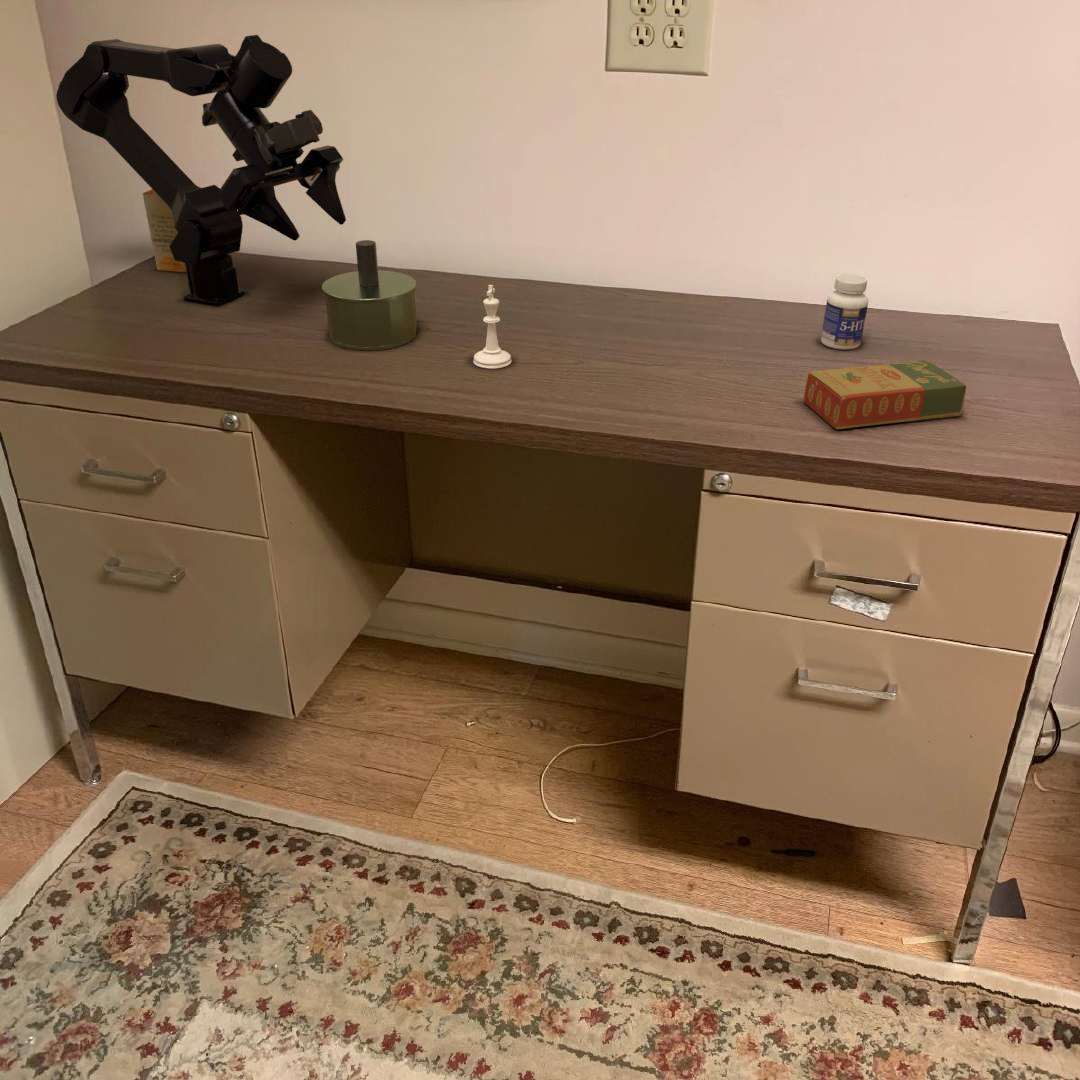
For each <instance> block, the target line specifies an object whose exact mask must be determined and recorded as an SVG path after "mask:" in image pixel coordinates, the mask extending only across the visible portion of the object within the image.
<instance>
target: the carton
mask: <svg viewBox="0 0 1080 1080" xmlns="http://www.w3.org/2000/svg"><path fill="white" fill-rule="evenodd" d="M803 392H804V394H803V400H802V401H803V403H805V404H806V405H807V406H808V407H809V408H810V409H811V410H813V411H814V413H816V414H817V415H818V416H820V417H821V418H822V419H823V420H824V421H825V422H827V423H828V424H829V425H830V426H831V427H832V428H834V429H835V430H843V429H851V428H858V427H869V426H877V425H886V424H896V423H904V422H905V423H907V422H918V421H929V420H937V419H938V420H939V419H949V418H950V419H951V418H958V417H960V416H961V415H962V413H963V409H964V405H965V398H966V393H967V384H966V383H965V382H963V381H961V380H960V379H958V378H956V377H955V376H953V375H951V374H950V373H948V372H947V371H945V370H943V369H942V368H940V367H939V366H937V365H935V364H934V363H932V362H931V361H929V360H927V359H923V360H916V361H906V362H905V361H904V362H893V363H885V364H875V365H865V366H857V367H856V366H854V367H844V368H833V369H824V370H816V371H815V370H814V371H809V372H808V373H807V378H806V382H805V387H804V391H803Z"/></svg>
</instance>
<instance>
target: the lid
mask: <svg viewBox="0 0 1080 1080" xmlns="http://www.w3.org/2000/svg"><path fill="white" fill-rule="evenodd" d="M355 249H356V250H355V251H356V262H357V271H349V272H345V273H340V274H337V275H335V276H331V277H330V278H328V279H326V280H325V281H323V283H322V285H321V290H322V291H321V292H322V294H323V295H324V297H325V296H326V297H328V298H330V299H333V300H336V301H340V302H346V303H356V304H371V303H382V302H389V301H393V300H398V299H401V298H404V297H406V296H408V295H410V294H412V293H413V292H414V293H415V291H416V290H417V281H416V280H415V278H413V277H412V276H410V275H408V274H405V273H403V272H397V271H393V270H383V269H381V270H380V269H379V268H378V267H379V265H378V254H377V242H376V241H374V240H371V239H364V240H358V241H356V242H355Z"/></svg>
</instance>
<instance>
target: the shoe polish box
mask: <svg viewBox="0 0 1080 1080" xmlns="http://www.w3.org/2000/svg"><path fill="white" fill-rule="evenodd" d="M142 197H143V202H144V208H145V213H146V219H147V223H148V228H149V233H150V239H151V243H152V248H153V254H154V257H155V258H154V259H155V264H156V269H157V271H164V272H177V273H187V271H186V266H185V263H184V262H180V261H176V260H175V259H174V257H173V254H172V252H171V250H170V244H171V243H172V241H173V239H174V238H175V236H176V235H177V233H178V231H177V230H176V229H175V227H174V222H173V216H172V211H171V209H170V207H169V206H168V205H167V204H166V203H165V202H164V201H163V200H162V199H161V198H160V197H159V196H158V195H157V193H156V192H155V191H154V190H153V189H152V188H151V189H150V190H149V189H148V190H147V191H145V192H143V193H142Z"/></svg>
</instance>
